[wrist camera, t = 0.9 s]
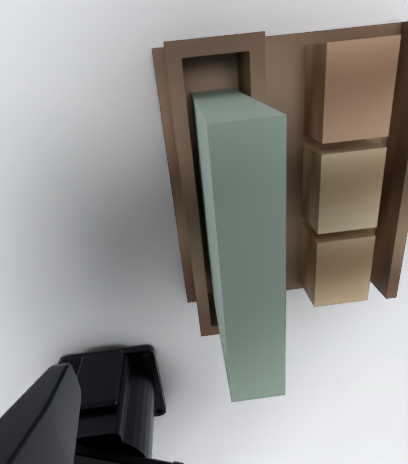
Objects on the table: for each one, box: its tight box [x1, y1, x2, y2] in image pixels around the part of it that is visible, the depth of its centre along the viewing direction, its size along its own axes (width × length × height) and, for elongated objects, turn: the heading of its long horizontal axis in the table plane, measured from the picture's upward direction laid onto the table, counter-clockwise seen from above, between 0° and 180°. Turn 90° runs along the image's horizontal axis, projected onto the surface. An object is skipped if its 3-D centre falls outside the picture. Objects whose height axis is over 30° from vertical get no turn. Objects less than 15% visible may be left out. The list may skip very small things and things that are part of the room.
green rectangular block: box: [190, 88, 287, 402], centre depth 15 cm, size 10×2×9 cm, turn 6°
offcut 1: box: [304, 35, 401, 144], centre depth 16 cm, size 4×3×2 cm
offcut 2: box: [302, 139, 387, 234], centre depth 18 cm, size 4×3×2 cm
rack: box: [152, 21, 408, 336], centre depth 18 cm, size 14×12×4 cm
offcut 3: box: [300, 222, 376, 307], centre depth 20 cm, size 4×3×2 cm
